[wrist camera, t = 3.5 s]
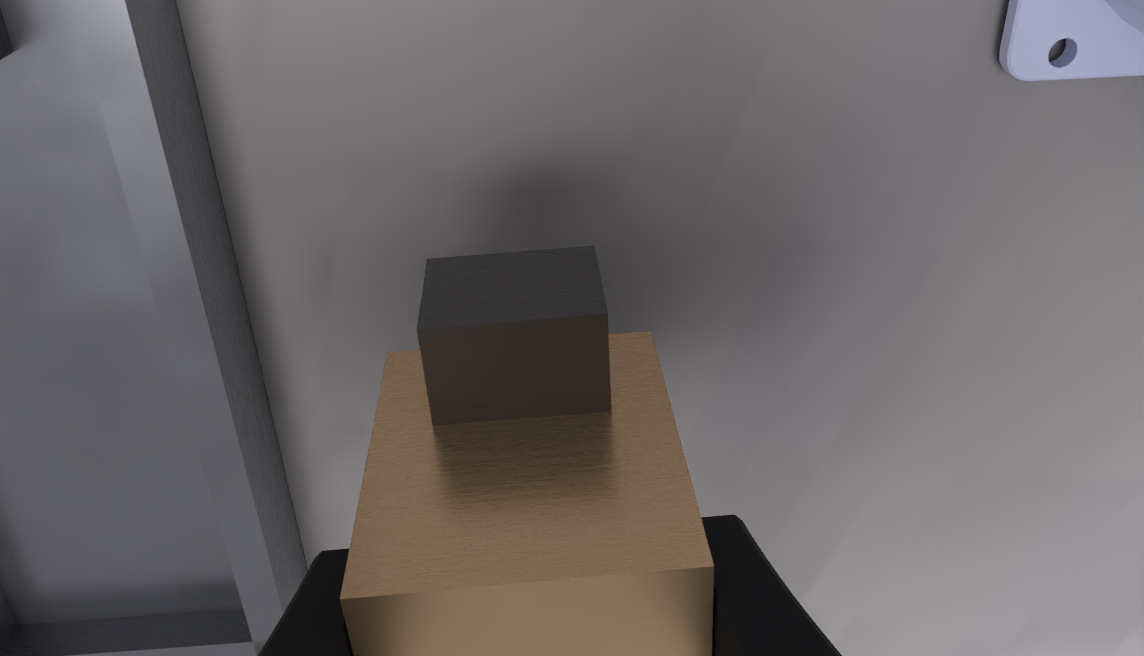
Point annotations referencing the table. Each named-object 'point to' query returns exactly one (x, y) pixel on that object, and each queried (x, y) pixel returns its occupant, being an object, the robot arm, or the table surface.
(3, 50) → the steel block
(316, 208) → the table surface
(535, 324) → the wooden block with cap
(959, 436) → the table surface
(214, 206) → the tray
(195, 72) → the table surface
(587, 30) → the table surface
